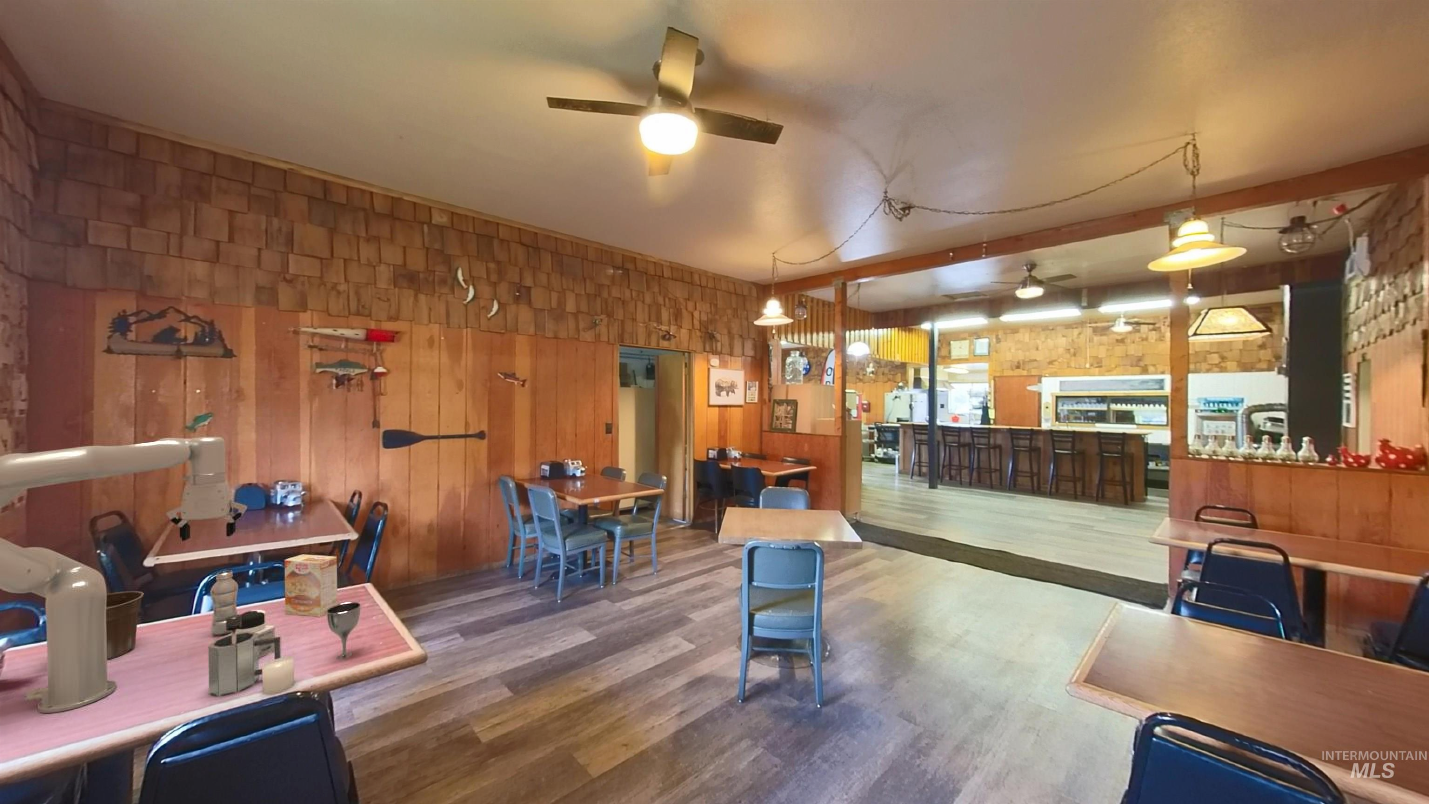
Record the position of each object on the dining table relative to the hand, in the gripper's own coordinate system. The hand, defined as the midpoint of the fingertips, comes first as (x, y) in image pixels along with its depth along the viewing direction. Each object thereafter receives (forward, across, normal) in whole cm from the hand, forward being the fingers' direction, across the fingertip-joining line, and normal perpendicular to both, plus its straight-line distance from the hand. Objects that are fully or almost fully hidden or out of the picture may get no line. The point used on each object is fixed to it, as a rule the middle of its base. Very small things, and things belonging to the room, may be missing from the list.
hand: (208, 537), depth 149 cm
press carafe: (+36, +14, -22) cm, 45 cm away
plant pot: (+36, -30, +19) cm, 51 cm away
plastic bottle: (+36, -3, +21) cm, 42 cm away
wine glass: (+36, +35, -16) cm, 53 cm away
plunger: (+34, +12, -22) cm, 42 cm away
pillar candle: (+36, +23, -28) cm, 51 cm away
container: (+36, +10, -2) cm, 38 cm away
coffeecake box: (+37, +18, +29) cm, 50 cm away
